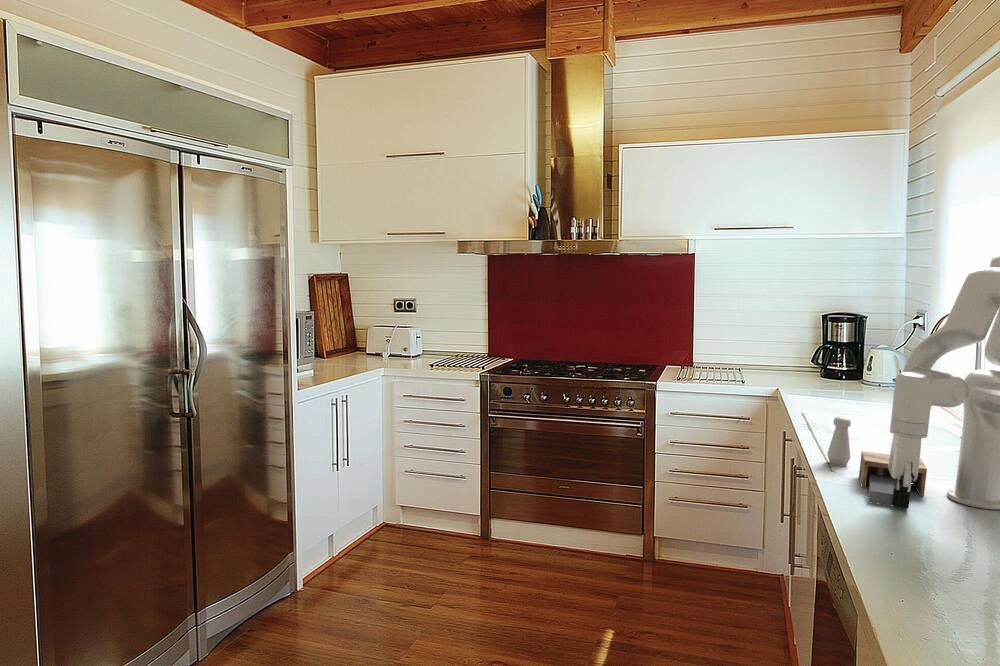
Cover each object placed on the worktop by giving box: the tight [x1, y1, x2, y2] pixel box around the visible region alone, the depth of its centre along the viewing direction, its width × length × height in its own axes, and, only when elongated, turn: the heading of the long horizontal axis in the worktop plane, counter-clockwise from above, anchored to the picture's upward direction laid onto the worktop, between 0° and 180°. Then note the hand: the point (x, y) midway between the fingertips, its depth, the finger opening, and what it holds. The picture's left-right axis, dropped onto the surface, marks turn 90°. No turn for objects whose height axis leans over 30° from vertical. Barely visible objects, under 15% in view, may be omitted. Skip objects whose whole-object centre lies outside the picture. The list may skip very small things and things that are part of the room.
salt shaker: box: [826, 416, 852, 467], centre depth 210 cm, size 6×6×13 cm
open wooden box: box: [858, 450, 928, 497], centre depth 192 cm, size 10×14×7 cm
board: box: [867, 473, 895, 506], centre depth 185 cm, size 16×8×3 cm, turn 155°
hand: (900, 506), depth 175 cm, fingers closed
